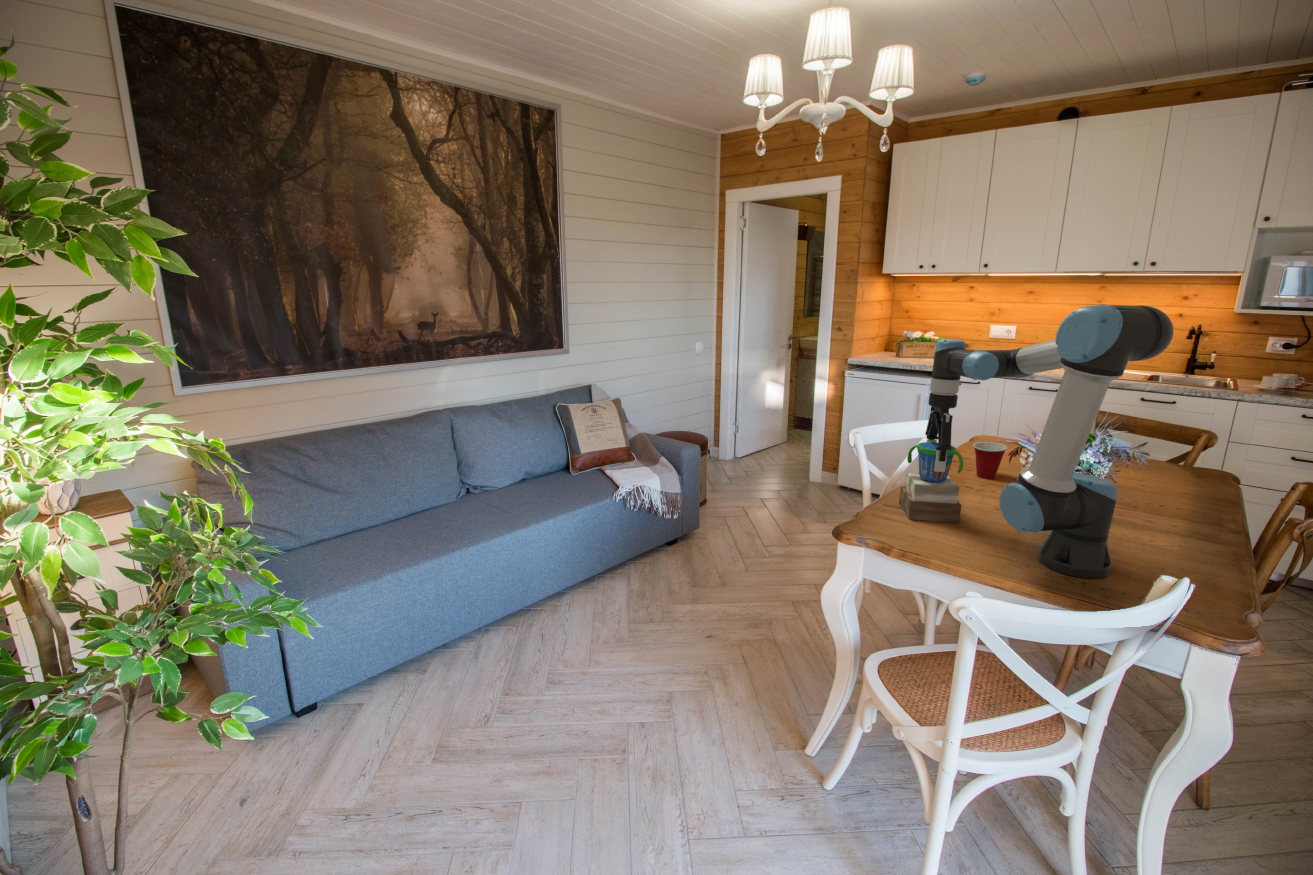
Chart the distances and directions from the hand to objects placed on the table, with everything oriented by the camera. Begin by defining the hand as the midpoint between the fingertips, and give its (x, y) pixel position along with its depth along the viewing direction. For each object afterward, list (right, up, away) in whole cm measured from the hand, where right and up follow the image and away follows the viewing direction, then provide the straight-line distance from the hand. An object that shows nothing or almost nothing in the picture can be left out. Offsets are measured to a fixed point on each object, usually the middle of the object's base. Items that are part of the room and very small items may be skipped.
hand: (934, 465), depth 186 cm
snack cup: (0, -4, +1) cm, 4 cm away
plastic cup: (+36, -6, +40) cm, 55 cm away
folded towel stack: (0, -14, +4) cm, 15 cm away
